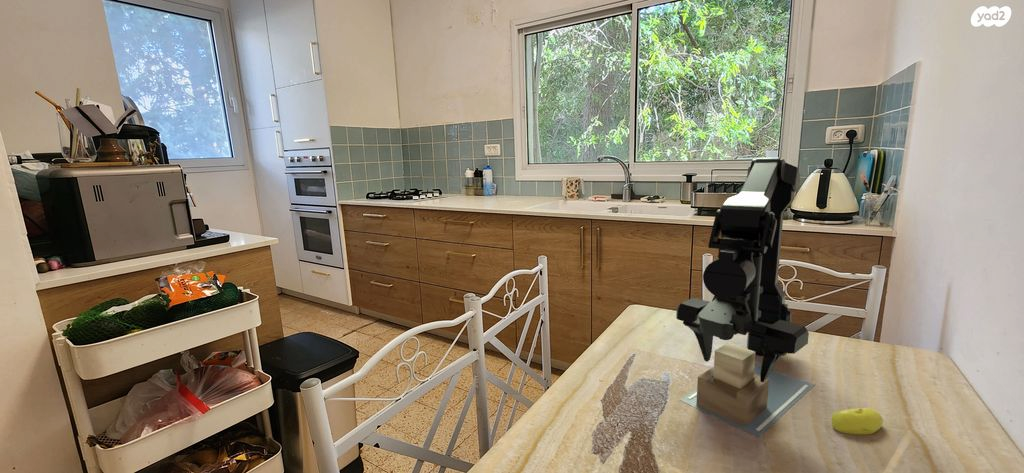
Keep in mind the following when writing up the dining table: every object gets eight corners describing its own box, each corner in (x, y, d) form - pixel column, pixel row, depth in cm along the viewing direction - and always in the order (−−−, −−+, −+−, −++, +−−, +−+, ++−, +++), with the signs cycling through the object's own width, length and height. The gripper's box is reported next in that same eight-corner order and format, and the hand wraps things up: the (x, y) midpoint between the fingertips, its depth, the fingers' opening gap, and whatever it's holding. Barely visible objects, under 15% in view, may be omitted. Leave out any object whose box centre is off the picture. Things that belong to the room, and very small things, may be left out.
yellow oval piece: (821, 425, 68) (823, 403, 67) (868, 421, 68) (871, 399, 68) (843, 442, 64) (846, 419, 63) (893, 438, 64) (896, 415, 64)
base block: (719, 388, 78) (721, 361, 77) (766, 407, 72) (769, 379, 71) (696, 404, 73) (697, 376, 72) (744, 426, 67) (746, 396, 66)
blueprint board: (741, 362, 88) (742, 358, 88) (814, 388, 78) (815, 383, 78) (679, 404, 75) (679, 399, 74) (758, 441, 64) (758, 436, 64)
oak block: (726, 374, 75) (728, 342, 74) (752, 384, 71) (755, 351, 70) (712, 383, 72) (714, 350, 71) (740, 394, 68) (742, 360, 67)
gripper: (659, 279, 71) (656, 365, 74) (782, 308, 56) (773, 414, 59) (695, 266, 77) (691, 346, 80) (814, 290, 63) (804, 386, 66)
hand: (733, 370), depth 71 cm, fingers open, 9 cm apart
